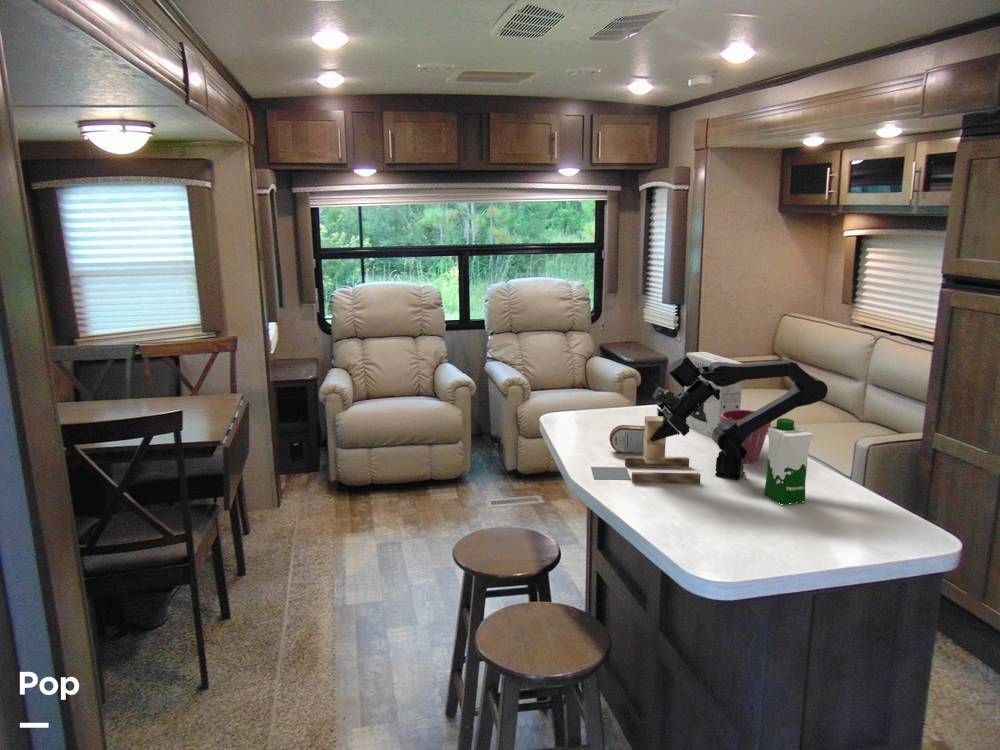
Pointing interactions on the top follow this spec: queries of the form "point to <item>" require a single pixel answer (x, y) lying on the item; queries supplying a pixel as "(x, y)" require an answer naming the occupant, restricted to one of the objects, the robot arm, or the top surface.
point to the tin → (628, 439)
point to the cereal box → (712, 407)
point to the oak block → (656, 449)
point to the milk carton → (787, 462)
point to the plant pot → (754, 439)
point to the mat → (611, 473)
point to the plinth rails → (662, 477)
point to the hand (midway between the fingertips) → (649, 437)
